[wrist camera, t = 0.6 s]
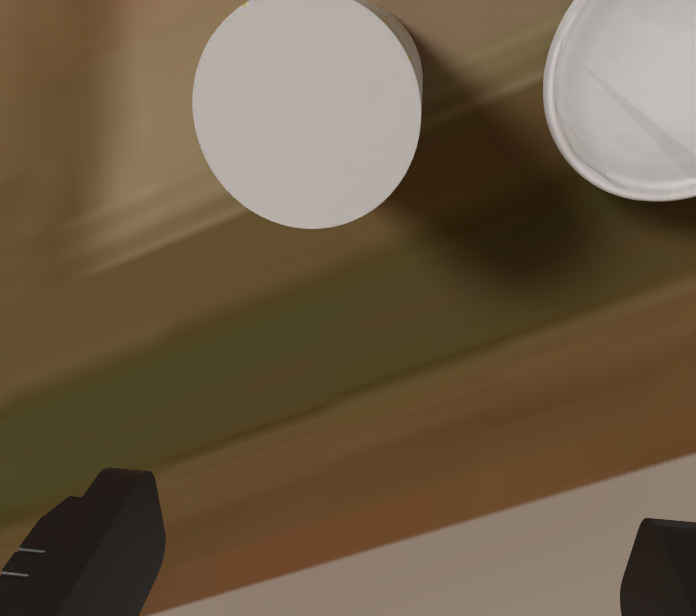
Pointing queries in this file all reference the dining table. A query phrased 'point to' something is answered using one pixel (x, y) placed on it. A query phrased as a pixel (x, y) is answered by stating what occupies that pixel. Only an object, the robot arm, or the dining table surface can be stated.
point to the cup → (309, 108)
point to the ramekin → (626, 96)
